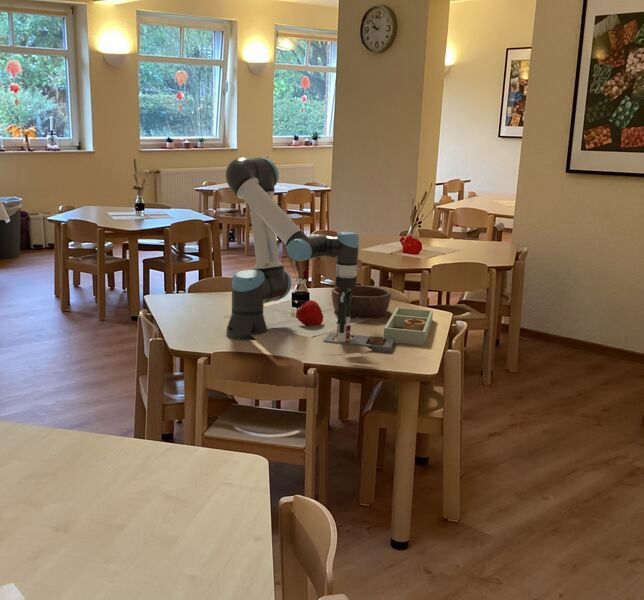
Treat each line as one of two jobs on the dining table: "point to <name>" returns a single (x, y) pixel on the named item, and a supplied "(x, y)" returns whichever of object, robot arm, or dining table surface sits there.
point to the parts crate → (408, 335)
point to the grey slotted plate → (364, 342)
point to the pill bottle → (346, 329)
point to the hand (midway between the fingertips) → (343, 339)
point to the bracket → (414, 324)
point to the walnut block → (376, 339)
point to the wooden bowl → (365, 301)
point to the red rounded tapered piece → (310, 313)
